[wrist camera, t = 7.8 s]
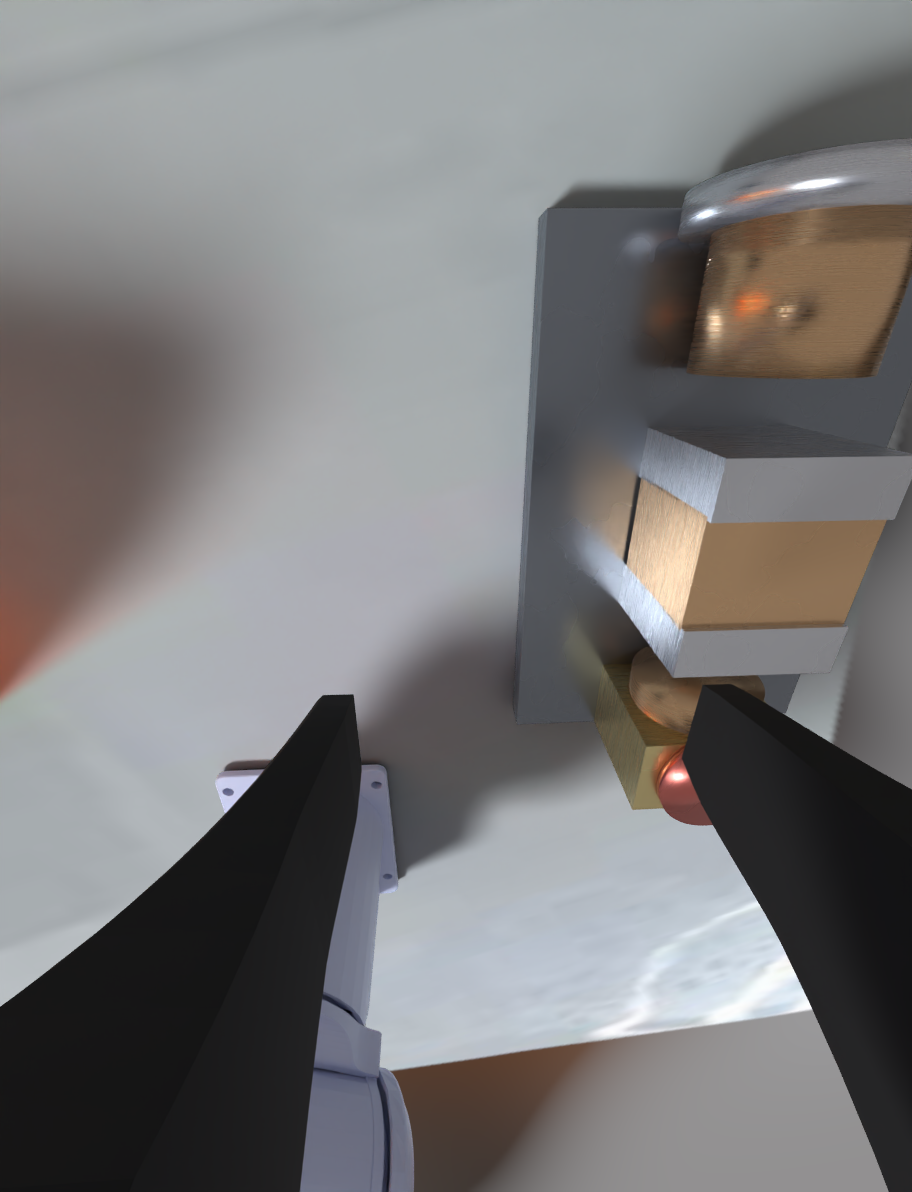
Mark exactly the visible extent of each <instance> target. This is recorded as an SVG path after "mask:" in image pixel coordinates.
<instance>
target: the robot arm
mask: <svg viewBox="0 0 912 1192" xmlns="http://www.w3.org/2000/svg"><path fill="white" fill-rule="evenodd" d="M682 760H683V763H684V765H685V768H686V770H687V773H688V775H689V777H690V780H691V782H692V785H693V787H694V789H695V791H696V794H697V796H698V798H699V800H700V803H701V805H702V807H703V808H704V810H705V812H706V814H707V816H708V817H709V819H710V821H711V822H712V824H713V826H714V828H715V829H716V831H717V833H718V835H719V836H720V838H721V840H722V841H723V843H724V845H725V847H726V848H727V850H728V852H729V853H730V855H731V857H732V858H733V860H734V862H735V864H736V865H737V867H738V869H739V870H740V872H741V874H742V875H743V877H744V879H745V880H746V882H747V884H748V886H749V887H750V889H751V891H752V892H753V894H754V896H755V897H756V899H757V901H758V903H759V904H760V906H761V908H762V909H763V911H764V913H765V914H766V916H767V918H768V920H769V922H770V924H771V925H772V927H773V929H774V931H775V933H776V935H777V936H778V938H779V940H780V942H781V944H782V946H783V948H784V950H785V952H786V954H787V956H788V959H789V961H790V963H791V965H792V967H793V969H794V971H795V973H796V975H797V977H798V980H799V982H800V984H801V986H802V988H803V990H804V992H805V994H806V996H807V998H808V1000H809V1003H810V1005H811V1007H812V1009H813V1012H814V1014H815V1016H816V1018H817V1020H818V1023H819V1025H820V1027H821V1029H822V1032H823V1034H824V1036H825V1038H826V1041H827V1043H828V1045H829V1047H830V1050H831V1052H832V1054H833V1056H834V1059H835V1061H836V1063H837V1065H838V1067H839V1070H840V1072H841V1074H842V1077H843V1079H844V1082H845V1084H846V1086H847V1089H848V1091H849V1094H850V1096H851V1098H852V1101H853V1103H854V1106H855V1108H856V1111H857V1113H858V1115H859V1118H860V1120H861V1123H862V1125H863V1128H864V1130H865V1132H866V1135H867V1137H868V1139H869V1142H870V1144H871V1147H872V1149H873V1152H874V1154H875V1157H876V1159H877V1162H878V1164H879V1167H880V1170H881V1172H882V1175H883V1178H884V1180H885V1183H886V1185H887V1188H888V1191H889V1192H912V789H910V788H908V787H906V786H905V785H903V784H901V783H899V782H897V781H895V780H894V779H892V778H890V777H888V776H887V775H884V774H883V773H881V772H879V771H877V770H876V769H874V768H872V767H870V766H869V765H867V764H865V763H864V762H862V761H860V760H859V759H857V758H855V757H853V756H852V755H850V754H848V753H847V752H845V751H843V750H842V749H840V748H838V747H837V746H835V745H833V744H832V743H830V742H828V741H827V740H825V739H823V738H822V737H820V736H818V735H817V734H815V733H814V732H812V731H810V730H809V729H807V728H805V727H804V726H802V725H801V724H799V723H797V722H796V721H794V720H792V719H791V718H789V717H788V716H786V715H784V714H783V713H781V712H779V711H778V710H776V709H774V708H773V707H771V706H769V705H768V704H766V703H764V702H763V701H761V700H759V699H758V698H756V697H754V696H753V695H751V694H749V693H747V692H746V691H744V690H742V689H740V688H738V687H736V686H734V685H732V684H710V685H702V689H701V692H700V696H699V699H698V703H697V706H696V710H695V713H694V717H693V720H692V724H691V727H690V731H689V734H688V738H687V741H686V745H685V748H684V752H683V755H682ZM375 781H378V783H376V782H375ZM215 785H216V788H217V791H218V794H219V797H220V800H221V803H222V806H223V809H224V812H225V815H224V816H223V817H222V818H221V819H220V820H219V821H218V822H217V823H216V824H215V825H214V826H213V827H212V828H211V829H210V830H209V831H208V832H207V833H206V834H205V835H204V836H203V837H202V838H201V839H200V840H199V841H198V842H197V843H196V844H195V845H194V846H193V847H192V848H191V849H190V850H189V851H188V852H187V853H186V854H185V855H184V856H183V857H182V858H181V859H180V860H179V861H178V862H176V863H175V864H174V865H173V866H172V867H171V868H170V869H169V870H168V871H167V872H166V873H165V874H163V875H162V876H161V877H160V878H159V879H158V880H157V881H156V882H155V883H153V884H152V885H151V886H150V887H149V888H148V889H147V890H146V891H144V892H143V893H142V894H141V895H140V896H139V897H138V898H137V899H135V900H134V901H133V902H132V903H131V904H130V905H129V906H127V907H126V908H125V909H124V910H123V911H122V912H120V913H119V914H118V915H117V916H116V917H115V918H113V919H112V920H111V921H110V922H109V923H107V924H106V925H105V926H104V927H103V928H101V929H100V930H99V931H98V932H97V933H95V934H94V935H93V936H92V937H90V938H89V939H88V940H86V941H85V942H84V943H83V944H81V945H80V946H79V947H78V948H76V949H75V950H74V951H72V952H71V953H70V954H69V955H67V956H66V957H65V958H64V959H62V960H61V961H60V962H58V963H57V964H56V965H55V966H53V967H52V968H51V969H50V970H48V971H47V972H46V973H44V974H43V975H42V976H41V977H39V978H38V979H37V980H35V981H34V982H33V983H31V984H30V985H29V986H28V987H26V988H25V989H24V990H22V991H21V992H20V993H18V994H17V995H16V996H14V997H13V998H12V999H10V1000H9V1001H8V1002H6V1003H5V1004H3V1005H2V1006H1V1007H0V1192H414V1155H413V1141H412V1133H411V1127H410V1121H409V1117H408V1113H407V1110H406V1107H405V1104H404V1100H403V1096H402V1093H401V1090H400V1088H399V1084H398V1082H397V1080H396V1078H395V1077H394V1075H393V1074H392V1073H391V1072H390V1071H389V1070H387V1069H386V1068H380V1067H379V1064H380V1050H381V1036H382V1034H381V1032H379V1031H376V1030H372V1029H369V1028H367V1027H365V1025H366V1019H367V1015H368V1010H369V1001H370V990H371V979H372V969H373V958H374V947H375V936H376V925H377V914H378V903H379V893H392V892H394V891H396V890H397V889H398V874H397V864H396V855H395V845H394V836H393V827H392V817H391V808H390V798H389V789H388V779H387V771H386V769H385V768H384V767H383V766H381V765H376V764H375V765H361V757H360V748H359V739H358V730H357V722H356V713H355V704H354V695H353V694H352V695H323V696H322V697H321V698H320V699H319V700H318V701H317V702H316V703H315V705H314V706H313V708H312V709H311V710H310V712H309V713H308V714H307V716H306V717H305V719H304V720H303V721H302V723H301V724H300V725H299V727H298V728H297V729H296V731H295V732H294V733H293V735H292V736H291V737H290V738H289V740H288V741H287V742H286V744H285V745H284V746H283V747H282V749H281V750H280V751H279V752H278V753H277V755H276V756H275V757H274V758H273V760H272V761H271V762H270V763H269V764H268V766H267V767H266V768H265V769H261V770H238V771H224V772H221V773H219V775H218V777H217V779H216V781H215ZM229 788H230V789H229Z"/></svg>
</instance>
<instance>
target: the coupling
mask: <svg viewBox="0 0 912 1192" xmlns="http://www.w3.org/2000/svg"><path fill="white" fill-rule="evenodd" d="M639 477H640V478H641V484H640V489H639V495H638V501H637V507H636V513H635V519H634V525H633V531H632V537H631V543H630V549H629V554H628V560H627V563H625V565H624V571H623V577H622V582H621V588H620V594H619V600H618V602H619V604H620V605H621V606H622V608H623V609H624V610H625V612H626V613H627V615H628V616H629V617H630V619H631V620H632V622H633V623H634V624H635V626H636V627H637V629H638V630H639V631H640V633H641V634H642V635H643V637H644V638H645V640H646V641H647V642H648V644H649V645H650V647H651V648H652V649H653V651H654V652H655V653H656V655H657V656H658V658H659V659H660V660H661V662H662V663H663V665H664V666H665V667H666V669H667V670H668V671H669V673H670V674H671V676H672V677H673V678H682V677H713V676H744V675H775V674H806V673H830V671H831V669H832V666H833V664H834V661H835V659H836V657H837V654H838V652H839V650H840V647H841V645H842V643H843V640H844V638H845V635H846V633H847V631H848V628H849V627H848V626H847V625H845V624H844V622H845V619H846V617H847V615H848V612H849V610H850V607H851V605H852V603H853V600H854V598H855V595H856V593H857V591H858V588H859V586H860V583H861V581H862V578H863V576H864V574H865V571H866V569H867V566H868V564H869V562H870V559H871V557H872V554H873V552H874V550H875V547H876V545H877V542H878V540H879V538H880V535H881V533H882V530H883V528H884V525H885V523H886V521H887V520H894V519H895V517H896V515H897V512H898V510H899V507H900V505H901V503H902V500H903V498H904V495H905V493H906V491H907V489H908V486H909V484H910V482H911V479H912V454H911V453H906V452H902V451H898V450H894V449H890V448H885V447H881V446H877V445H873V444H868V443H864V442H860V441H855V440H851V439H847V438H843V437H838V436H834V435H830V434H826V433H821V432H817V431H813V430H808V429H804V428H800V427H796V426H712V427H647V433H646V439H645V445H644V451H643V457H642V463H641V469H640V475H639Z"/></svg>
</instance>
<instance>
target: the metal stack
mask: <svg viewBox="0 0 912 1192" xmlns="http://www.w3.org/2000/svg"><path fill="white" fill-rule="evenodd" d="M911 382H912V138H909V139H894V140H884V141H874V142H865V143H857V144H849V145H842V146H836V147H830V148H823V149H817V150H812V151H807V152H802V153H796V154H792V155H787V156H783V157H778V158H774V159H770V160H766V161H762V162H758V163H754V164H750V165H747V166H744V167H740V168H737V169H734V170H731V171H728V172H725V173H722V174H720V175H717V176H715V177H712V178H710V179H708V180H705V181H703V182H702V183H700V184H698V185H696V186H695V187H693V188H692V189H690V190H689V191H688V192H687V193H686V194H685V197H684V201H683V207H682V208H547V209H546V210H545V212H544V213H543V214H542V215H541V216H540V217H539V224H538V243H537V262H536V281H535V299H534V318H533V337H532V356H531V375H530V394H529V413H528V432H527V450H526V469H525V488H524V507H523V526H522V545H521V564H520V582H519V601H518V620H517V639H516V658H515V677H514V696H513V709H514V713H515V717H516V722H517V724H536V723H561V722H585V721H594V722H595V724H596V727H597V729H598V731H599V733H600V736H601V738H602V740H603V743H604V745H605V747H606V750H607V752H608V754H609V757H610V759H611V761H612V764H613V766H614V768H615V771H616V773H617V775H618V778H619V780H620V782H621V784H622V787H623V789H624V791H625V794H626V796H627V798H628V801H629V803H630V805H631V808H632V810H636V809H657V808H664V809H665V811H666V812H667V813H668V814H669V815H670V816H671V817H673V818H674V819H676V820H678V821H680V822H683V823H686V824H691V825H713V824H712V822H711V821H710V819H709V817H708V816H707V814H706V812H705V810H704V808H703V807H702V805H701V803H700V800H699V798H698V796H697V794H696V791H695V789H694V787H693V785H692V782H691V780H690V777H689V775H688V773H687V770H686V768H685V765H684V763H683V760H682V755H683V752H684V748H685V745H686V741H687V738H688V734H689V731H690V727H691V724H692V720H693V717H694V713H695V710H696V706H697V703H698V699H699V696H700V692H701V689H702V685H710V684H732V685H734V686H736V687H738V688H740V689H742V690H744V691H746V692H747V693H749V694H751V695H753V696H754V697H756V698H758V699H759V700H761V701H763V702H764V703H766V704H768V705H769V706H771V707H773V708H774V709H776V710H778V711H779V712H781V713H786V710H787V708H788V705H789V702H790V700H791V697H792V694H793V692H794V689H795V687H796V684H797V681H798V679H799V676H800V674H775V675H744V676H713V677H682V678H673V677H672V676H671V674H670V673H669V671H668V670H667V669H666V667H665V666H664V665H663V663H662V662H661V660H660V659H659V658H658V656H657V655H656V653H655V652H654V651H653V649H652V648H651V647H650V645H649V644H648V642H647V641H646V640H645V638H644V637H643V635H642V634H641V633H640V631H639V630H638V629H637V627H636V626H635V624H634V623H633V622H632V620H631V619H630V617H629V616H628V615H627V613H626V612H625V610H624V609H623V608H622V606H621V605H620V604H619V602H618V600H619V594H620V588H621V582H622V577H623V571H624V565H625V563H627V560H628V554H629V549H630V543H631V537H632V531H633V525H634V519H635V513H636V507H637V501H638V495H639V489H640V484H641V478H640V477H639V475H640V469H641V463H642V457H643V451H644V445H645V439H646V433H647V427H712V426H796V427H800V428H804V429H808V430H813V431H817V432H821V433H826V434H830V435H834V436H838V437H843V438H847V439H851V440H855V441H860V442H864V443H868V444H873V445H877V446H881V447H885V448H886V447H887V445H888V442H889V440H890V437H891V434H892V432H893V429H894V426H895V424H896V421H897V419H898V416H899V413H900V411H901V408H902V405H903V403H904V400H905V398H906V395H907V392H908V390H909V387H910V384H911Z"/></svg>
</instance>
